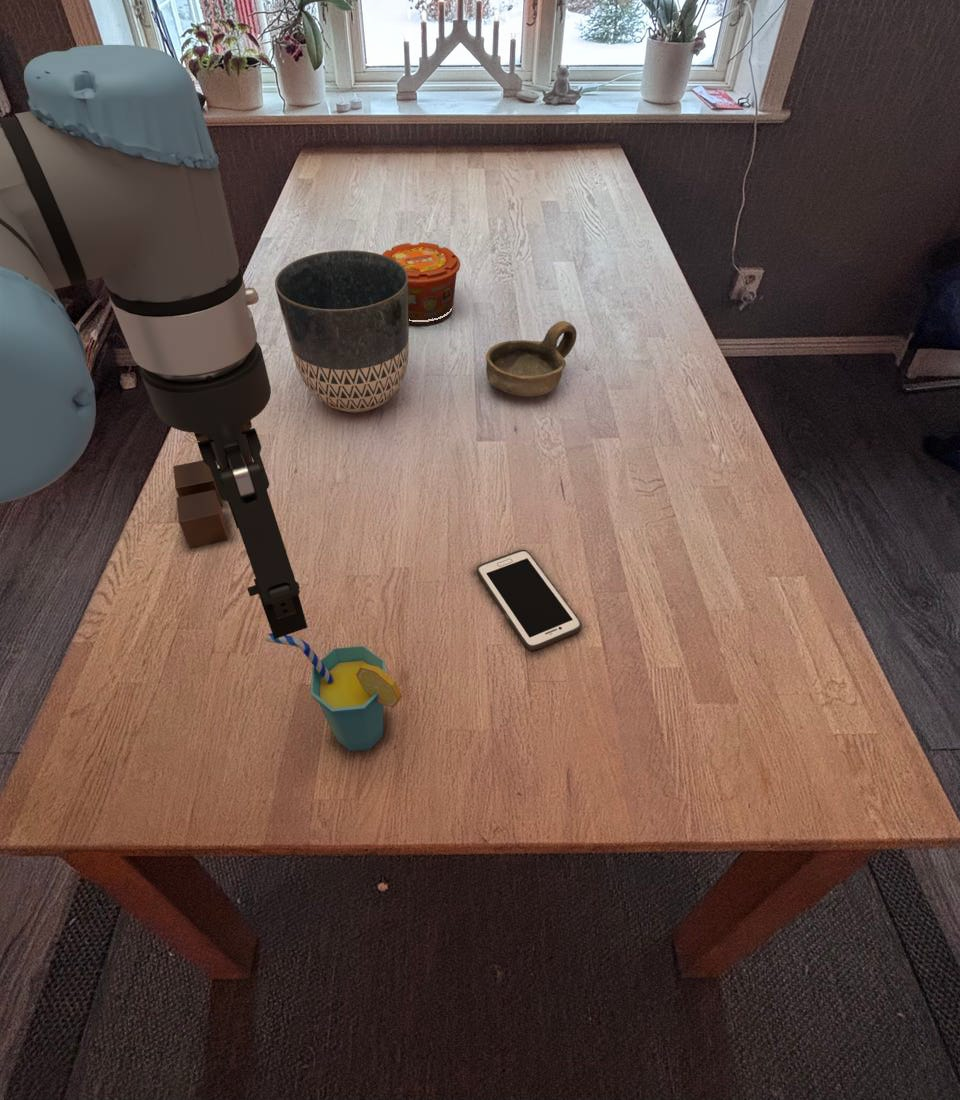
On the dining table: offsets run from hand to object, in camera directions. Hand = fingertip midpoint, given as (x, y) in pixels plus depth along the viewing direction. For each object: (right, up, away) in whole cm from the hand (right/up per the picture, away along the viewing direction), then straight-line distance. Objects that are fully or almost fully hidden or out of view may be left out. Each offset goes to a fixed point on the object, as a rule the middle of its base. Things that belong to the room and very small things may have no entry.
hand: (269, 572), depth 58 cm
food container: (+6, +50, +79) cm, 94 cm away
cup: (+4, -18, +16) cm, 24 cm away
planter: (-3, +27, +57) cm, 64 cm away
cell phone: (+24, -5, +28) cm, 37 cm away
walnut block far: (-22, +9, +40) cm, 46 cm away
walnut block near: (-20, +4, +35) cm, 41 cm away
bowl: (+27, +31, +62) cm, 75 cm away
